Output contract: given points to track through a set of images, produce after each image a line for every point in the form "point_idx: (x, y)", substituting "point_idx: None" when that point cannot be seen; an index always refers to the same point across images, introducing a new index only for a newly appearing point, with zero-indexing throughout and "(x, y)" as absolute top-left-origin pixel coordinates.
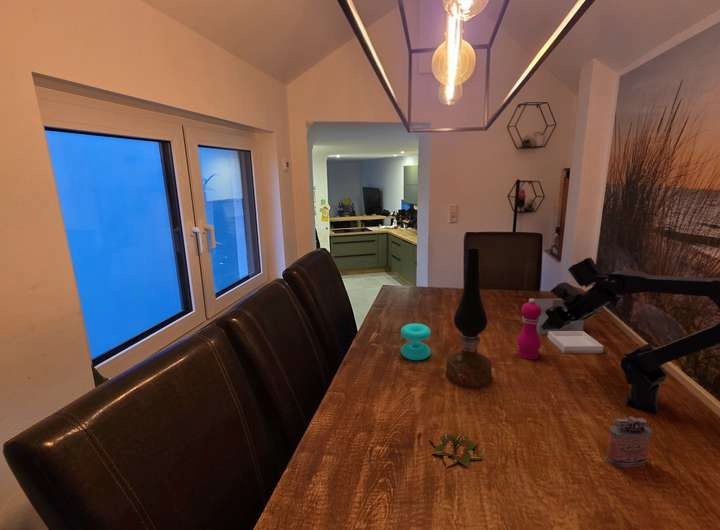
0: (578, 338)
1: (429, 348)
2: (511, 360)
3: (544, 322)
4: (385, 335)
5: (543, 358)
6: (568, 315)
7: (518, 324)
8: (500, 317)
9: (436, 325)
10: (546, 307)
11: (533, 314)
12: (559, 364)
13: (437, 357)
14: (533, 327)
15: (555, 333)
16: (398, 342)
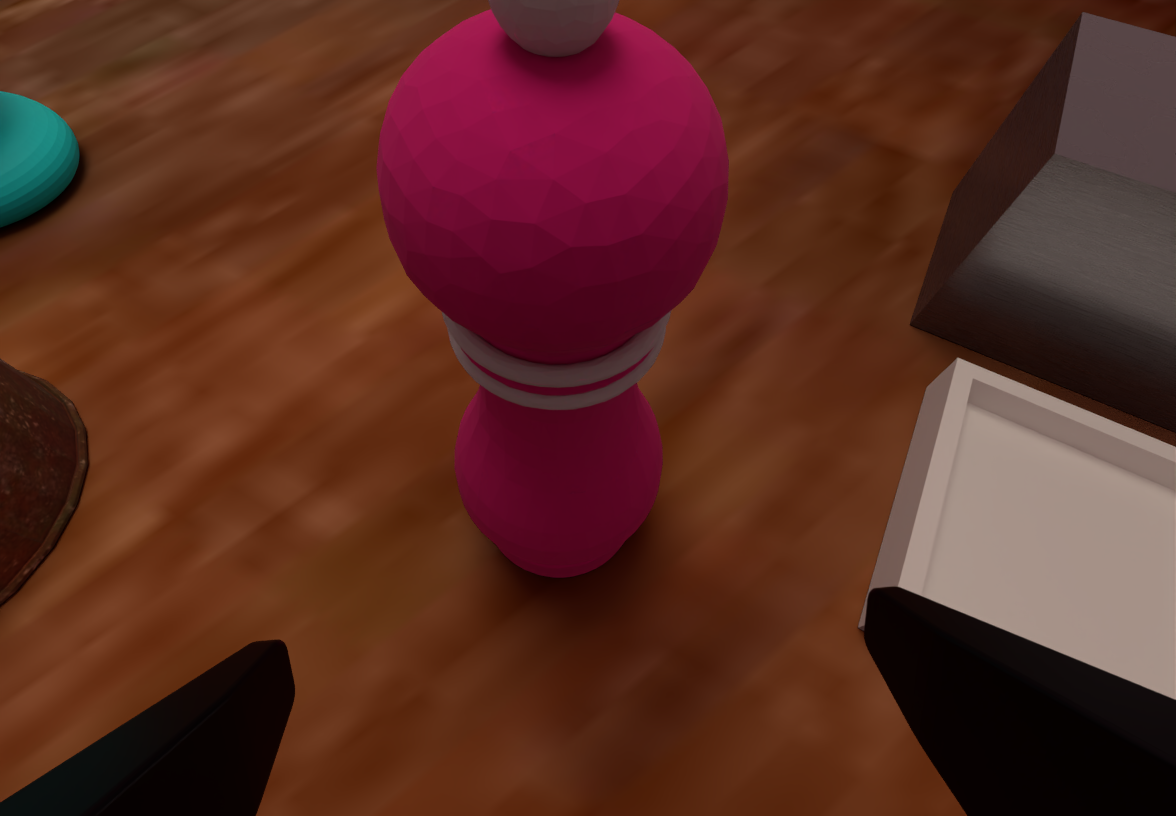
0: (1155, 527)
1: (11, 177)
2: (380, 500)
3: (64, 766)
4: (117, 9)
5: (624, 603)
6: (1102, 810)
7: (874, 190)
8: (836, 100)
9: (430, 34)
10: (1132, 153)
11: (440, 296)
12: (654, 759)
13: (47, 253)
14: (528, 417)
15: (1001, 398)
16: (84, 70)
